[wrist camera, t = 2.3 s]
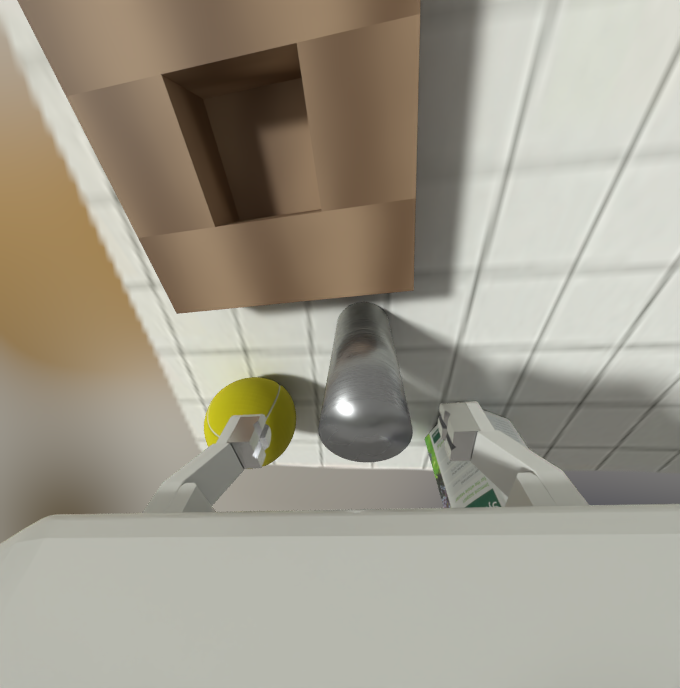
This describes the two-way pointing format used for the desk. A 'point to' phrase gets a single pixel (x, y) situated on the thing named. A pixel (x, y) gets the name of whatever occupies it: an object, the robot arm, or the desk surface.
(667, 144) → the desk surface
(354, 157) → the socket block
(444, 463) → the syrup box
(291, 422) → the tennis ball
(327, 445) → the pin
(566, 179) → the desk surface
